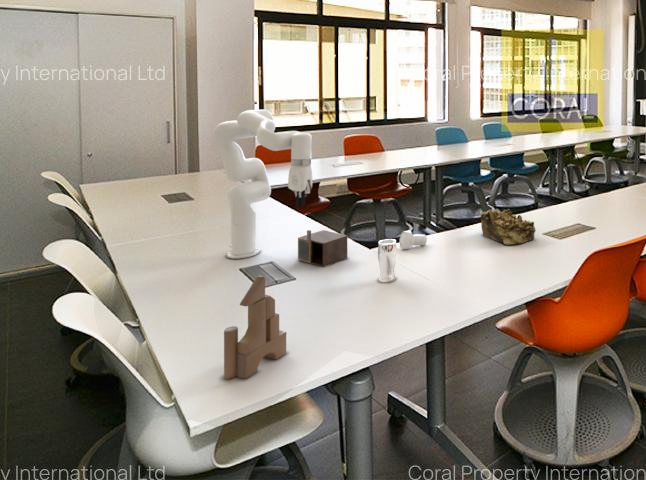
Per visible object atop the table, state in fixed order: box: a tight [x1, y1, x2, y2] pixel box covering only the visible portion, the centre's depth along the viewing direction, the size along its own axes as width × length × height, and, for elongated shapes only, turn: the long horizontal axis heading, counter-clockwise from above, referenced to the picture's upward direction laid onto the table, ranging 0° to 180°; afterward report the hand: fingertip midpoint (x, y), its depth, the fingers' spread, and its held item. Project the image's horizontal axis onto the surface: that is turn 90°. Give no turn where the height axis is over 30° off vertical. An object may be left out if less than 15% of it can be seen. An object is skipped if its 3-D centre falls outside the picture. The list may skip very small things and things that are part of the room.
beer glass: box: [377, 238, 397, 283], centre depth 209 cm, size 7×7×15 cm
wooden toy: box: [223, 275, 287, 380], centre depth 148 cm, size 16×7×25 cm, turn 162°
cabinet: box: [299, 229, 348, 268], centre depth 231 cm, size 12×16×10 cm
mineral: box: [480, 208, 536, 246], centre depth 264 cm, size 27×25×15 cm
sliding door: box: [297, 229, 312, 264], centre depth 227 cm, size 1×8×14 cm, turn 60°
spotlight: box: [399, 230, 428, 250], centre depth 247 cm, size 8×11×8 cm
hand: (300, 206), depth 222 cm, fingers closed
